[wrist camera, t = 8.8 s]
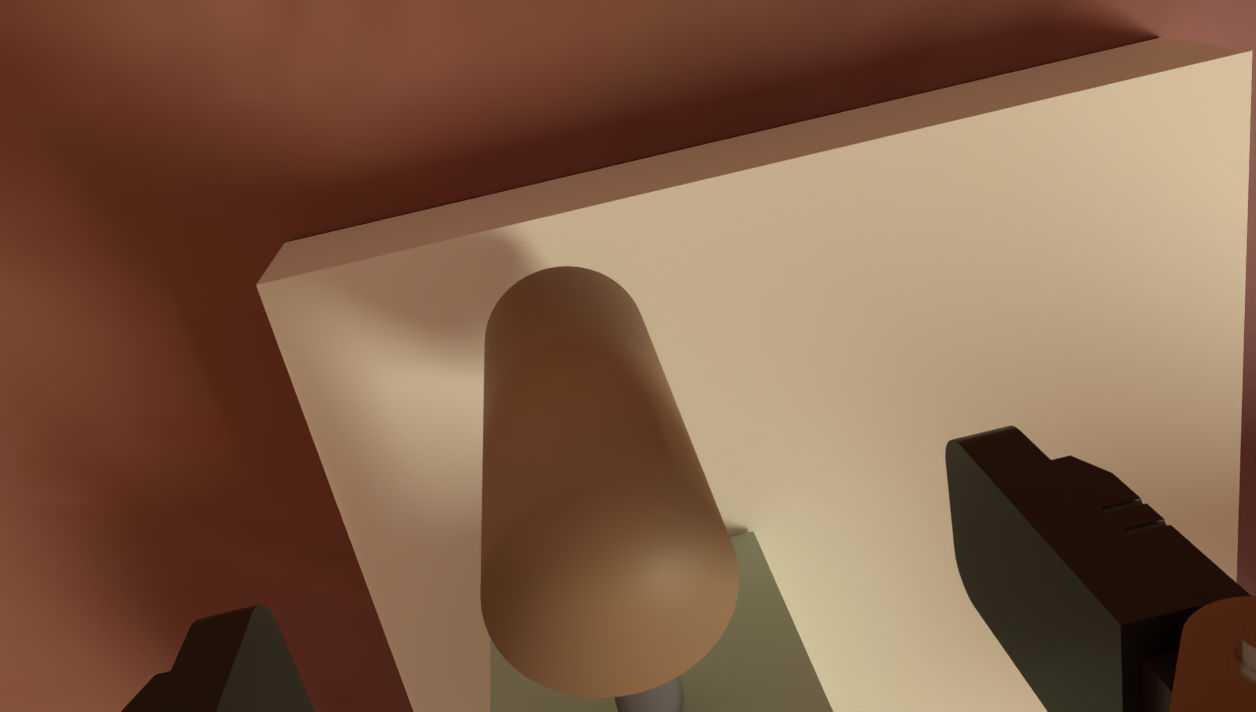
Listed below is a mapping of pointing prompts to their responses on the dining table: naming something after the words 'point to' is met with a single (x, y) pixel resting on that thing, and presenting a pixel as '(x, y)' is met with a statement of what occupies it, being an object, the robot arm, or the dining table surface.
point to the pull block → (613, 527)
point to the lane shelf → (823, 348)
